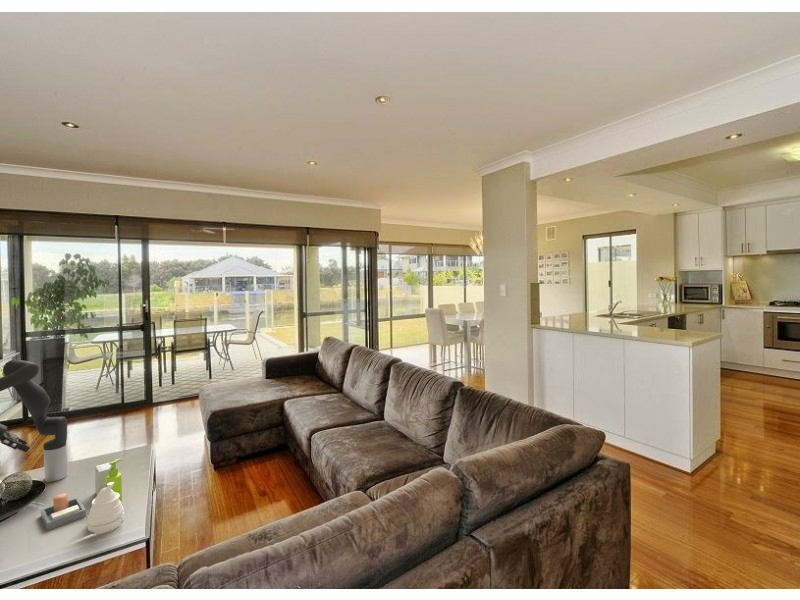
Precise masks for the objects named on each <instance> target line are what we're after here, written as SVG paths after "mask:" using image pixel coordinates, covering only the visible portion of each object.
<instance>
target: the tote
mask: <svg viewBox="0 0 800 600" xmlns="http://www.w3.org/2000/svg"><path fill="white" fill-rule="evenodd" d="M68 505H69V507H72V506H75V505H78V507H79V511H77V512H74V513H72V514H69V515H66V516H63V517H60V518H58V519H55V520H52V521H51V514H52V513H54V504H53V505H50V506H48V507H45V508H41V509H40V516H41V519H42V521H43V523H44V526H45V527H46V529H47V531H49V530H52V529H54V528H57V527H60V526H62V525H65V524H68V523H71V522H74V521H75V520H79V519H82V518H84V517H87V509H86V508H85V506H84V505H83V503H82V502H81V500H80V499H79V497H78V496H76V497H74V498H72V499H71V498H70V499H68Z"/></svg>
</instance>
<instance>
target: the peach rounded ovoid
mask: <svg viewBox="0 0 800 600" xmlns="http://www.w3.org/2000/svg"><path fill="white" fill-rule="evenodd" d="M52 500H53V505H54V513H55V512H58V511H61V510H64V509H67V508H69V505H68V500H69V495H68V493H65V492H64V493H61V494H58V495H55V496H53V498H52Z"/></svg>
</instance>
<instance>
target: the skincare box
mask: <svg viewBox="0 0 800 600" xmlns="http://www.w3.org/2000/svg"><path fill="white" fill-rule="evenodd" d="M109 463H110V462H106V463H102V464H97V465H95V467H94V468H95V476H94V477H95V478H94V479H95V483H94V484H95V485H94V486H95V489H94V491H95V495H96V496H97V495H98V493H99V492H100V491H101V490H102V489H103V488H106V477H107V476H108V475H109V469H110V468H111V465H110V464H109Z"/></svg>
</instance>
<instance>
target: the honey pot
mask: <svg viewBox="0 0 800 600" xmlns="http://www.w3.org/2000/svg"><path fill="white" fill-rule="evenodd" d="M113 485H114V482H110V483H108V484H107V487H106V488H103V489H102V490H101V491H100V492H99V493H98V495H97V494H96V496H95V498H93V500H92V501H91V508H90V510H89V515H88V516H87V520H86V521H87V522H86V523H87V530H88V531H89V532H91V535H100V534H105V533H108V532H112V531H113V530H116V529H117V528H119V527H120V526H122V524H123V523H124V522H123V521H124V519H125V512H124V511H125V510H124V509H125V507H124V506H123V504H122V501H120V500H119V497H120V494H119V493H116V492H114V491H113V490H112V489H110V488H112V487H113ZM118 526H119V527H118Z"/></svg>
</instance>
